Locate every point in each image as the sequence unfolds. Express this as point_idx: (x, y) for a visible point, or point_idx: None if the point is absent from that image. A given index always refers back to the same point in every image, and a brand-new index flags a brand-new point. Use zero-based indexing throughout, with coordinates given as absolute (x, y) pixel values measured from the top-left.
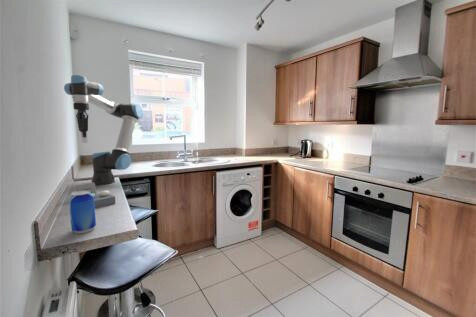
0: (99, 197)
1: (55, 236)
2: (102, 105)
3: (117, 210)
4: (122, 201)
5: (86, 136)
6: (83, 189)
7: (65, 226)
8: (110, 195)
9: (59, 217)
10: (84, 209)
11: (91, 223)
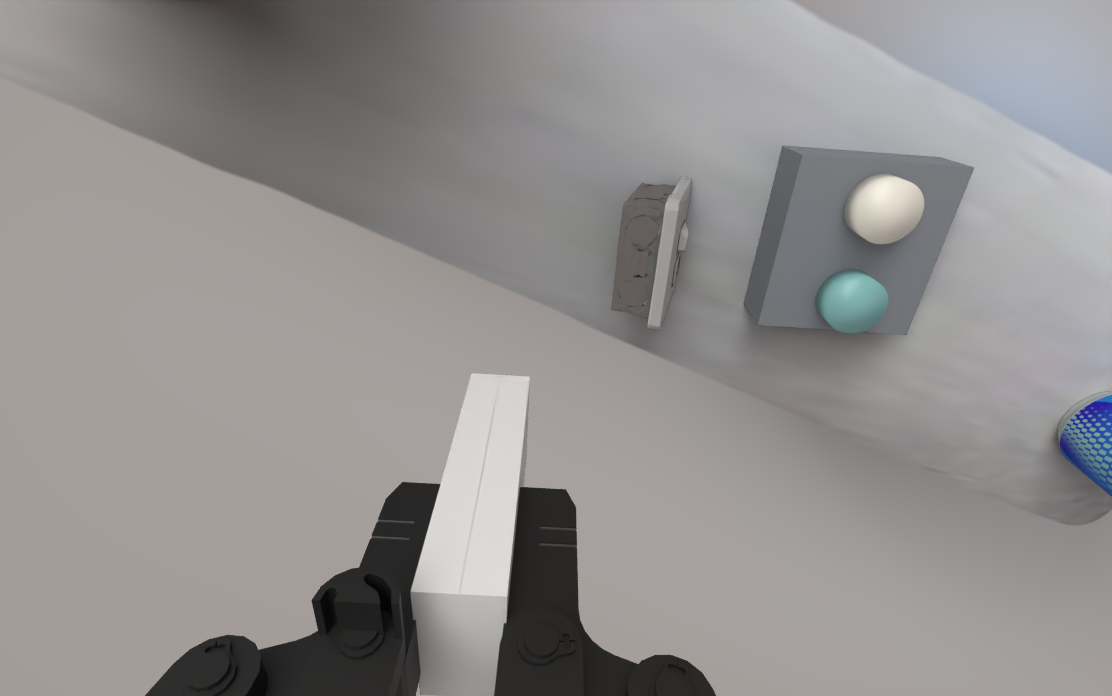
0: (882, 251)
1: (1030, 493)
2: None
3: (1067, 220)
4: (955, 99)
5: (521, 487)
6: (672, 280)
7: (977, 448)
8: (918, 177)
9: (843, 430)
10: None
11: None
